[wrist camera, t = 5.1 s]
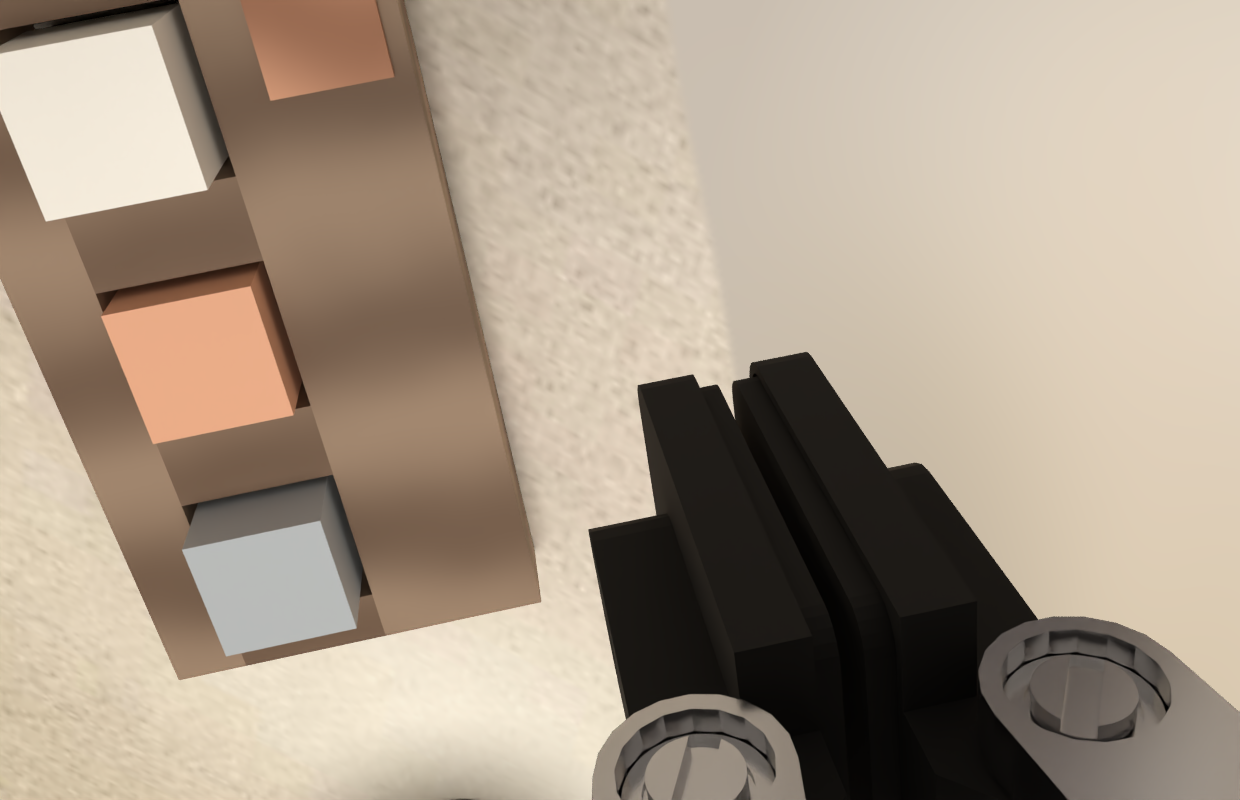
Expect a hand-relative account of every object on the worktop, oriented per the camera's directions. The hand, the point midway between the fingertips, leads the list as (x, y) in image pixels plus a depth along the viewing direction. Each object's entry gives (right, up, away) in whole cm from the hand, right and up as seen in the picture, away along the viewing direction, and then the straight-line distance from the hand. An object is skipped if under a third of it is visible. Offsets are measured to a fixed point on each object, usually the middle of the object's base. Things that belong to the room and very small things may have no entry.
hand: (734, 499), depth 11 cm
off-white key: (-14, +9, +19) cm, 26 cm away
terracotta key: (-13, +3, +23) cm, 27 cm away
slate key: (-12, -3, +26) cm, 29 cm away
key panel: (-12, +4, +24) cm, 27 cm away
